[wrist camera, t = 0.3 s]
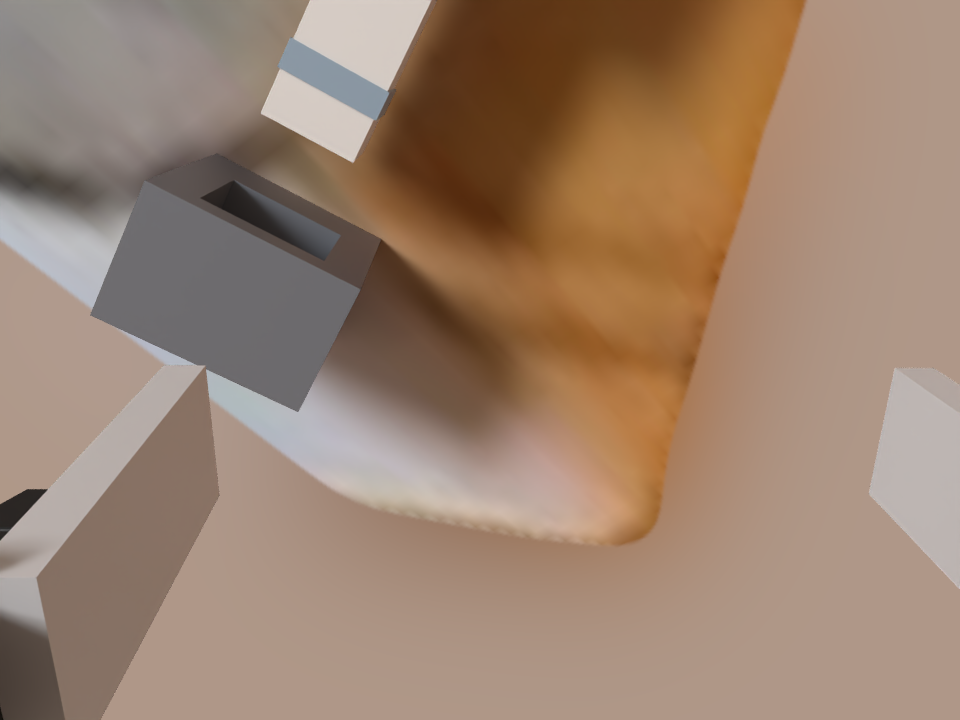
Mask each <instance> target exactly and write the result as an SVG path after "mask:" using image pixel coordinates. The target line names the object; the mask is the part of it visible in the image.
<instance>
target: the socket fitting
mask: <svg viewBox="0 0 960 720" xmlns="http://www.w3.org/2000/svg"><path fill="white" fill-rule="evenodd" d="M380 241H381V239H380V238H378V237H376V236H374V235H372V234H370V233H368V232H366V231H364V230H363V229H361V228H359V227H357V226H355V225H353V224H351V223H349V222H347V221H345V220H343V219H341V218H340V217H338V216H336V215H334V214H332V213H330V212H328V211H326V210H324V209H322V208H320V207H318V206H316V205H315V204H313V203H311V202H309V201H307V200H305V199H303V198H301V197H299V196H297V195H295V194H293V193H291V192H290V191H288V190H286V189H284V188H282V187H280V186H278V185H276V184H274V183H272V182H270V181H268V180H266V179H265V178H263V177H261V176H259V175H257V174H255V173H253V172H251V171H249V170H247V169H245V168H243V167H241V166H240V165H238V164H236V163H234V162H232V161H230V160H228V159H226V158H224V157H222V156H220V155H218V154H214V155H211V156H209V157H206V158H203V159H201V160H198V161H195V162H193V163H190V164H187V165H185V166H182V167H179V168H177V169H174V170H171V171H169V172H166V173H163V174H161V175H158V176H155V177H153V178H150V179H147V180H145V181H144V184H143V186H142V189H141V191H140V194H139V196H138V198H137V201H136V203H135V206H134V208H133V211H132V213H131V216H130V218H129V221H128V223H127V226H126V228H125V231H124V233H123V235H122V238H121V240H120V243H119V245H118V248H117V250H116V253H115V255H114V258H113V260H112V263H111V265H110V268H109V270H108V272H107V275H106V277H105V280H104V282H103V285H102V287H101V290H100V292H99V295H98V297H97V300H96V302H95V305H94V307H93V310H92V312H91V316H93V317H95V318H97V319H100V320H102V321H104V322H106V323H108V324H110V325H112V326H115V327H117V328H119V329H121V330H123V331H125V332H128V333H130V334H132V335H134V336H136V337H138V338H140V339H143V340H145V341H147V342H149V343H151V344H153V345H155V346H158V347H160V348H162V349H164V350H166V351H168V352H170V353H173V354H175V355H177V356H179V357H181V358H183V359H185V360H188V361H190V362H192V363H194V364H196V365H205V366H206V369H207V370H209V371H211V372H213V373H216V374H218V375H220V376H222V377H224V378H226V379H228V380H231V381H233V382H235V383H237V384H239V385H241V386H243V387H246V388H248V389H250V390H252V391H254V392H256V393H258V394H261V395H263V396H265V397H267V398H269V399H271V400H273V401H276V402H278V403H280V404H282V405H284V406H286V407H288V408H291V409H293V410H295V411H297V412H298V411H299V409H300V407H301V405H302V403H303V402H304V400H305V398H306V396H307V394H308V392H309V390H310V388H311V386H312V384H313V382H314V380H315V378H316V376H317V374H318V372H319V370H320V368H321V366H322V364H323V362H324V360H325V358H326V356H327V355H328V353H329V351H330V349H331V347H332V345H333V343H334V341H335V339H336V337H337V335H338V333H339V331H340V329H341V327H342V325H343V323H344V321H345V319H346V317H347V315H348V313H349V311H350V309H351V308H352V306H353V304H354V302H355V300H356V298H357V296H358V294H359V292H360V290H361V288H362V285H363V283H364V280H365V278H366V275H367V273H368V270H369V268H370V265H371V263H372V260H373V258H374V256H375V253H376V251H377V248H378V246H379V243H380Z"/></svg>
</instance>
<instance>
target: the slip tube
mask: <svg viewBox="0 0 960 720" xmlns="http://www.w3.org/2000/svg"><path fill="white" fill-rule="evenodd" d="M436 2H437V0H310V2H309V4H308V6H307V9H306V11H305V13H304V15H303V18H302V20H301V22H300V25H299V27H298V29H297V31H296V34H295V36H294V38H292V37H290V39H289V42H288V44H287V46H286V48H285V51H284V53H283V55H282V58H281V60H280V62H279V64H278V67H279V68H280V70H279V72H278V75H277V77H276V79H275V82H274V84H273V86H272V88H271V91H270V93H269V95H268V97H267V100H266V102H265V104H264V107H263V109H262V111H261V114H263V115H265V116H267V117H269V118H270V119H272V120H274V121H276V122H278V123H280V124H282V125H284V126H285V127H287V128H289V129H291V130H293V131H295V132H297V133H298V134H300V135H302V136H304V137H306V138H308V139H310V140H312V141H313V142H315V143H317V144H319V145H321V146H323V147H325V148H326V149H328V150H330V151H332V152H334V153H336V154H338V155H340V156H341V157H343V158H345V159H347V160H349V161H351V162H354V161H355V160H356V159H357V158H358V157H359V156H360V155H361V154H363V152H364V150H365V148H366V146H367V144H368V142H369V140H370V138H371V136H372V134H373V132H374V130H375V128H376V125H377V123H378V121H379V119H380V118H381V117H382V116H383V115H385V112H386V110H387V108H388V106H389V104H390V102H391V100H392V98H393V96H394V94H395V92H396V89H394V88H395V86H396V84H397V82H398V80H399V78H400V76H401V74H402V72H403V70H404V68H405V66H406V64H407V62H408V59H409V57H410V55H411V53H412V51H413V49H414V47H415V45H416V43H417V41H418V39H419V37H420V35H421V33H422V31H423V28H424V26H425V24H426V22H427V20H428V18H429V16H430V14H431V12H432V10H433V8H434V6H435V4H436Z"/></svg>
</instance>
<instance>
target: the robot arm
mask: <svg viewBox="0 0 960 720" xmlns="http://www.w3.org/2000/svg"><path fill="white" fill-rule="evenodd" d="M869 495H870V496H871V497H872V498H873V499H874V500H875V501H876V502H877V503H878V504H879V505H880V506H881V507H882V508H883V509H884V510H885V511H886V512H887V514H889V516H890V517H891V518H892V519H893V520H894V521H895V522H896V523H897V524H898V525H899V526H900V527H901V528H902V529H903V530H904V531H905V532H906V534H908V536H909V537H910V538H911V539H912V540H913V541H914V542H915V543H916V544H917V545H918V546H919V547H920V548H921V549H922V550H923V551H924V552H925V553H926V554H927V555H928V557H929V558H930V559H931V560H932V561H933V562H934V563H935V564H936V565H937V566H938V567H939V568H940V569H941V570H942V571H943V572H944V573H945V574H946V575H947V576H948V578H949V579H950V580H951V581H952V582H953V583H954V584H955V585H956V586H957V587H958V588H959V589H960V385H959V384H958V383H956V382H954V381H953V380H951V379H950V378H948V377H947V376H945V375H944V374H942V373H941V372H939V371H937V370H936V369H934V368H895V369H894V373H893V378H892V383H891V388H890V393H889V398H888V403H887V408H886V413H885V418H884V422H883V427H882V432H881V437H880V442H879V446H878V451H877V456H876V461H875V466H874V471H873V476H872V481H871V485H870V490H869ZM218 497H219V486H218V477H217V468H216V459H215V450H214V440H213V431H212V422H211V412H210V404H209V393H208V384H207V375H206V366H205V365H164V366H163V367H162V368H161V369H160V370H159V371H158V372H157V373H156V374H155V376H154V377H153V378H152V379H151V380H150V381H149V382H148V383H147V384H146V385H145V386H144V387H143V388H142V389H141V391H140V392H139V393H138V394H137V395H136V396H135V397H134V398H133V399H132V400H131V401H130V402H129V403H128V404H127V406H126V407H125V408H124V409H123V410H122V411H121V412H120V413H119V414H118V415H117V416H116V417H115V418H114V420H112V422H111V423H110V424H109V425H108V426H107V427H106V428H105V429H104V430H103V431H102V432H101V433H100V434H99V435H98V437H97V438H96V439H95V440H94V441H93V442H92V443H91V444H90V445H89V446H88V447H87V448H86V449H85V450H84V452H83V453H82V454H81V455H80V456H79V457H78V458H77V459H76V460H75V461H74V462H73V463H72V464H71V466H70V467H69V468H68V469H67V470H66V471H65V472H64V473H63V474H62V475H61V476H60V477H59V478H58V479H57V481H56V482H55V483H54V484H53V485H52V486H51V487H50V488H49V489H44V490H43V489H27V490H25V491H23V492H22V493H20V494H18V495H16V496H14V497H13V498H11V499H9V500H7V501H6V502H4V503H2V504H0V720H101V718H102V716H103V714H104V712H105V710H106V708H107V707H108V705H109V703H110V701H111V699H112V697H113V695H114V693H115V691H116V690H117V688H118V686H119V684H120V682H121V680H122V678H123V676H124V674H125V673H126V671H127V669H128V667H129V665H130V663H131V661H132V659H133V657H134V656H135V654H136V652H137V650H138V648H139V646H140V644H141V642H142V641H143V639H144V637H145V635H146V633H147V631H148V629H149V627H150V625H151V624H152V622H153V620H154V618H155V616H156V614H157V612H158V610H159V608H160V606H161V605H162V603H163V601H164V599H165V597H166V595H167V593H168V591H169V589H170V588H171V586H172V584H173V582H174V580H175V578H176V576H177V575H178V573H179V571H180V569H181V567H182V565H183V563H184V561H185V559H186V557H187V556H188V554H189V552H190V550H191V548H192V546H193V544H194V542H195V540H196V539H197V537H198V535H199V533H200V531H201V529H202V527H203V525H204V523H205V522H206V520H207V518H208V516H209V514H210V512H211V510H212V508H213V506H214V505H215V503H216V501H217V499H218Z"/></svg>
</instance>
